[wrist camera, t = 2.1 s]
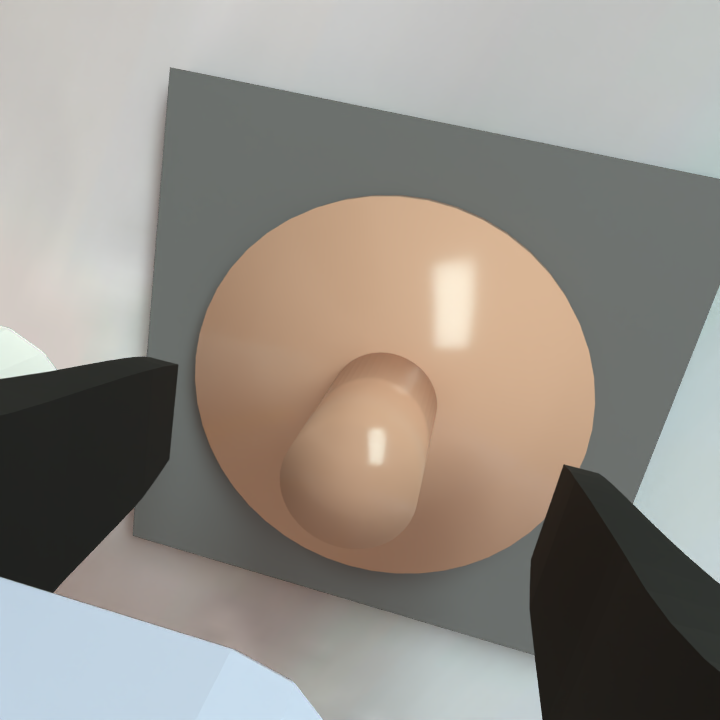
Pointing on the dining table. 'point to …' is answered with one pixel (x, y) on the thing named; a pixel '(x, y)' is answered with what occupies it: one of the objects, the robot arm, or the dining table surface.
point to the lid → (394, 383)
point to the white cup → (20, 356)
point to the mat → (454, 187)
